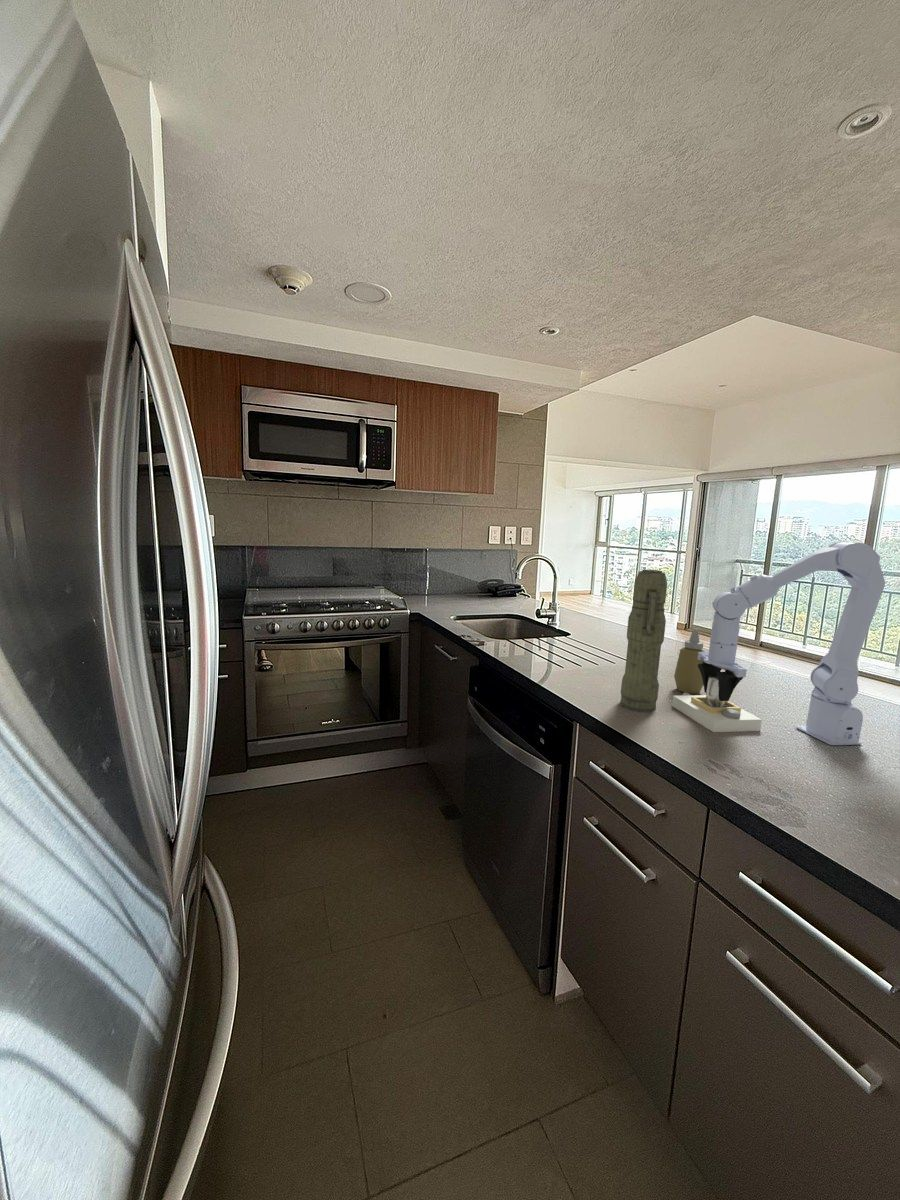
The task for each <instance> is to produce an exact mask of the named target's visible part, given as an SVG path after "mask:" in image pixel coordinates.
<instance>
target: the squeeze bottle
mask: <svg viewBox="0 0 900 1200" xmlns="http://www.w3.org/2000/svg"><path fill="white" fill-rule="evenodd" d="M703 648H704V642H702V641H700V635H699V629H698V628H693V630H692V632H691V634H690V637H689V639H687V640H685V641H684V647H681V648H680V649H679V653H678V654H679V655H678V658H677V662H676V667H675V670H674V676H673V677H674V682H675V686H676V690H678V691H679V692H683V693H685V692H686V693H688V694H690V695H698V694H699V693H701V692H702V689H703V688H704V685H703V679H702V675H701V672H700V670H699V668H698V664H701V663H703V662H704V661H703V660H698V652H706V651H705V650H704V649H703Z"/></svg>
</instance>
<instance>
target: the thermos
mask: <svg viewBox="0 0 900 1200" xmlns="http://www.w3.org/2000/svg"><path fill="white" fill-rule="evenodd" d="M667 591H668V579H667V576H666V573H665V572H663V571H662V570H658V569H656V570H655V569H642V570H639V571H638V573H637V575H636V577H635V580H634V585H633V592H632V593H633V597H632V600H633V603H632V607H631V611H630V613H629V615H628V619H627V629H626V640H627V650H626V661H625V668H624V674H623V676H622V677H621V679H622V680H621V687H620V705H621V706H622V707H624V708H626V709H628V710H632V711H636V712H641V713H642V712H643V713H645V712H647V713H648V712H654V711H655V710H656V709H657V701H658V696H659V688H660V683H659V680H658V675H659V668H660V658H661V648H662V645H663V643H664V641H665V632H666V622H667V619H666V616H665V615H666V614H665V610H666V609H665V604H666V599H667Z"/></svg>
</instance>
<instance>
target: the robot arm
mask: <svg viewBox="0 0 900 1200" xmlns="http://www.w3.org/2000/svg"><path fill="white" fill-rule="evenodd" d="M880 560H881V556H880V554H878V553H877V552H876V551H875V549H874V548H873V547H872V546H871V545H868V544H867V543H864V542H849V541H835V542H834V543H832V544H831V543H830V545H829V546H824V547H822V548H821V547H820V548H819V549H817V550H815V551H813V552H812V553H809V554H808V555H806V556H804V557H802V558H800V559H799V560H797V561H795V562H794V563H791V564H789V565H787V566H786V567H784V568H782V569H781V570H778V571H776V572H775V573H773V574H771V575H766V574H762V573H761V574H759V575H756V574H754V575H753V574H752V575H751V576H750V577H749V579H750V580H747V581H746V582H744V583H741V584H740V585H738V586H736V587H735V586H733V585H732V587H729V590H730V591H723V592H721V593H719V594H717V595H716V596H715V598H714V600H713V601H712V607H713V610H714V614H713V621H712V624H711V633H710V640H709V648H708V652H706V651H705V652H698V660H703V661H704V662H703V663H701V664H698V668H699V670H700V672H701V675H702V679H703V690H704V694H706V692H707V684H708V677H709V676H710V675H717V676H718V680H719V700H720V701H729V700H730V699H731V696H732V694H733V692H734V690H735V688H736V687H737V685H739V683H740V682H741V681H742V680H743V679H744V678H747V671H748V669H747V668H745V667H743V666H742V665H740V664H739V663H738V662H737V661H736V656H737V649H738V641H739V634H740V629H741V626H740V623H741V622H740V621H741V618H742V616H743V615H744V613H745V611H746V610H750V609H752V608H753V607H755V606H758V605H760V604H763V603H765V602H766V601H768V600H770V599H772V598H775V597H776V596H777V595H778V592H779V590H780V589H781V588H782V587H784V586H786V585H790V584H791V583H793V582H795V581H798V580H800V579H802V578H804V577H806V576H809V575H812V574H813V573H815V572H824V571H825V572H827V571H828V572H829V571H831V572H832V571H833V572H835V571H836V572H837V573H839V574H840V575H842V577H843V578H844V579H845V580H846V582H847V583H848V584H849V585H850V587H851V588H850V591H849V595H848V596H847V599H846V602H845V605H844V607H843V611H842V613H841V616H840V619H839V622H838V624H837V628H836V629H835V633H834V635H833V638H832V640H831V644H830V647H829V650H828V651H827V653H826V654H824V656H823V657H822V658H821V659H820V662H819V664H818V665H817V666H816V667H815V668H813V670H812V671H811V672H810V681H811V683H812V685H813V686H814V688H813V690H811V694H810V700H809V706H808V711H807V712H808V713H807V719H806V724H805V725H795V728H796V729H798V730H800V731H802V732H804V733H805V734H808V735H810V736H811V737H813V738H815V739H818V740H820V741H822V742H824V743H826V744H827V745H830V746H847V745H848V746H849V745H850V746H851V745H852V746H854V745H862V741H860V737H861V736H860V735H861V732H862V727H863V720H864V716H863V712H862V710H860V709H859V708H857V707H856V706H854V705H853V703H852V700H853V699H855V698H856V696H857V695H858V693H859V686H858V685H859V684H858V677H859V675H860V673H859V672H860V671H859V667H858V659H859V657H860V654H861V651H862V649H863V645H864V643H865V640H866V638H867V635H868V632H869V630H870V628H871V627H870V626H871V624H872V623H873V622H872V621H873V619H874V616H875V614H876V611H877V609H878V605H879V602H880V600H881V597H882V594H883V592H884V589H885V586H886V580H885V578H884V574H883V570H882V567H881V564H880ZM722 670H724V671H722ZM729 702H730V701H729Z"/></svg>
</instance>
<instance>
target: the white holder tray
mask: <svg viewBox="0 0 900 1200" xmlns="http://www.w3.org/2000/svg"><path fill="white" fill-rule="evenodd" d="M705 699H706V694H700V695H698V694H690V693H686V692H683V693H682V695H672V704H671V706H672V707H673V708H674V709H676V710H678V711H680V712H681V713H682V714H684V715H685V716H688V717H689V718H690V719H691V720H693V721H695V722H696V723H698V724H699V725H701V726H702V727H704V728H706V729H707V730H710V732H712V733H727V732H728V733H731V732H734V733H735V732H760V731H761V728H762V721H763V720H762V719H761V718H760V717H758V716H756V715H755V714H752V713H751V712H748V711H747V710H745V709H743V708H742V707H740V706H738V705H736V704H735V703H733V702H731V701H728V704H727V707H711V706H709V705H707V704H705Z"/></svg>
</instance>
